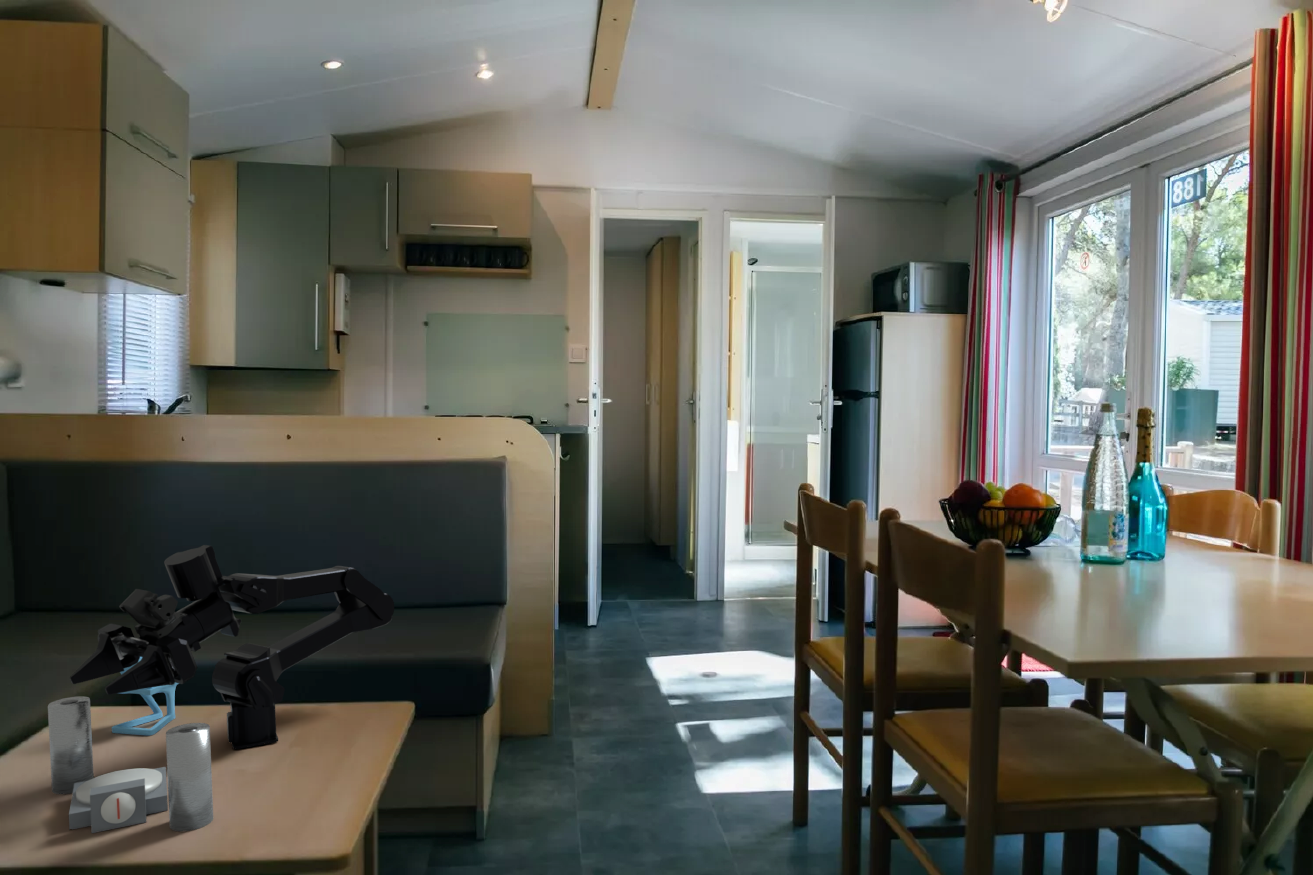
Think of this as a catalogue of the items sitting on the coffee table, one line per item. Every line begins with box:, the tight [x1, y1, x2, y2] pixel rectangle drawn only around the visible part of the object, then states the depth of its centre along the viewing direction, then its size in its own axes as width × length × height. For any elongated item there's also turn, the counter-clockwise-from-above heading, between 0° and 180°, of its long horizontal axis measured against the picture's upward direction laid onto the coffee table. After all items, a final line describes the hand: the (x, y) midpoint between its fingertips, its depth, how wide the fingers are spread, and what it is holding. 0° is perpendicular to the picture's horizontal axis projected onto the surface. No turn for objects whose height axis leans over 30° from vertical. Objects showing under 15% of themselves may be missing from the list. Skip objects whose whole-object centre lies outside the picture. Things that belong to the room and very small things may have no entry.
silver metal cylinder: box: [165, 722, 214, 832], centre depth 120 cm, size 5×5×12 cm
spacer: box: [47, 696, 95, 795], centre depth 132 cm, size 5×5×12 cm
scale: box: [68, 766, 169, 834], centre depth 125 cm, size 11×14×5 cm
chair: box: [111, 657, 179, 737], centre depth 156 cm, size 8×8×12 cm
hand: (88, 686), depth 127 cm, fingers open, 9 cm apart
